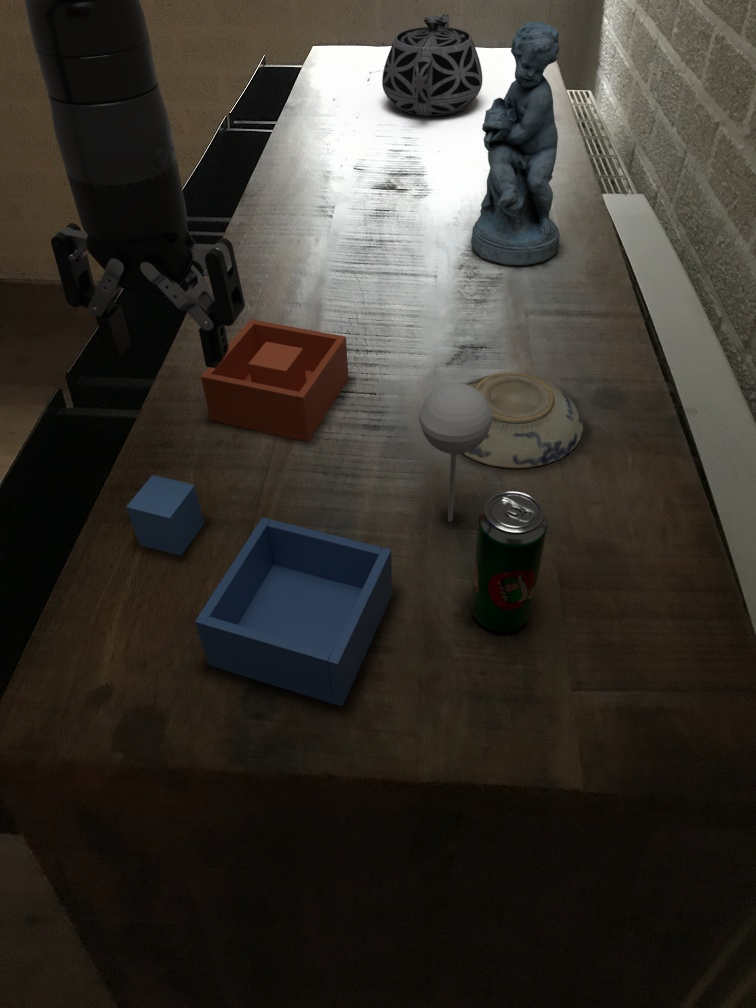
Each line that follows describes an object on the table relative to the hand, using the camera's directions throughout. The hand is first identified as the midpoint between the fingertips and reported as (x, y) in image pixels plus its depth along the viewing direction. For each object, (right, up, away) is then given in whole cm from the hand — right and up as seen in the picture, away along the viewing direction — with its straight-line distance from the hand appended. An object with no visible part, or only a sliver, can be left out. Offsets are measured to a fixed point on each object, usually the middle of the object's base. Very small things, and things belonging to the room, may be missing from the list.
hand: (167, 356), depth 66 cm
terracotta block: (+7, 0, +22) cm, 23 cm away
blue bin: (+11, -23, 0) cm, 25 cm away
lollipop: (+24, -14, +9) cm, 29 cm away
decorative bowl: (+32, -4, +19) cm, 37 cm away
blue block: (-2, -15, +8) cm, 17 cm away
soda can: (+28, -22, +1) cm, 35 cm away
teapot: (+28, +66, +89) cm, 114 cm away
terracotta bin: (+7, -1, +22) cm, 23 cm away
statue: (+37, +25, +47) cm, 65 cm away
